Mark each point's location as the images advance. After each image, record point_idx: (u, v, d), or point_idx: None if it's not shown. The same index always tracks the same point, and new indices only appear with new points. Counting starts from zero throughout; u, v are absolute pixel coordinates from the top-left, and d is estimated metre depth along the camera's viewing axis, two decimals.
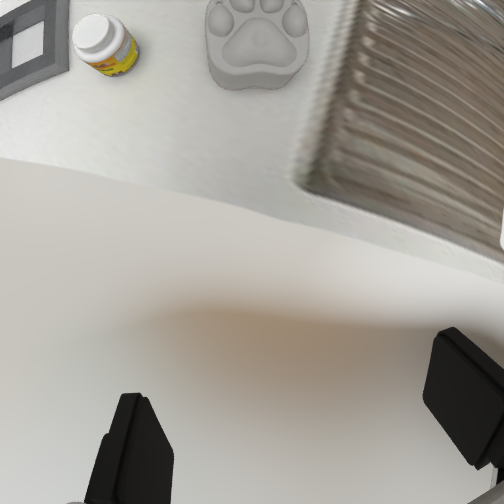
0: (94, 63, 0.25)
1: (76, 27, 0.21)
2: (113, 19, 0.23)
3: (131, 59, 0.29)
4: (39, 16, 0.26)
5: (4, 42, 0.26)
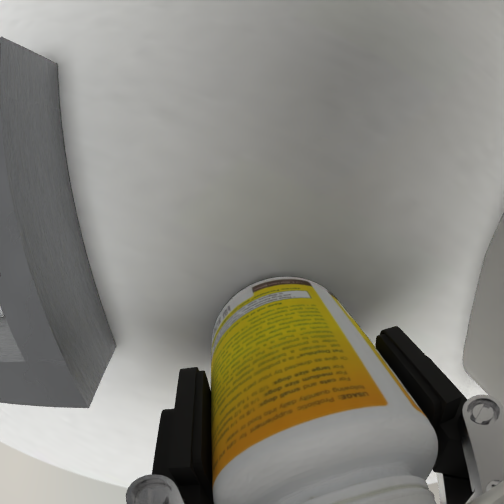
0: None
1: None
2: (424, 448, 0.05)
3: None
4: None
5: None
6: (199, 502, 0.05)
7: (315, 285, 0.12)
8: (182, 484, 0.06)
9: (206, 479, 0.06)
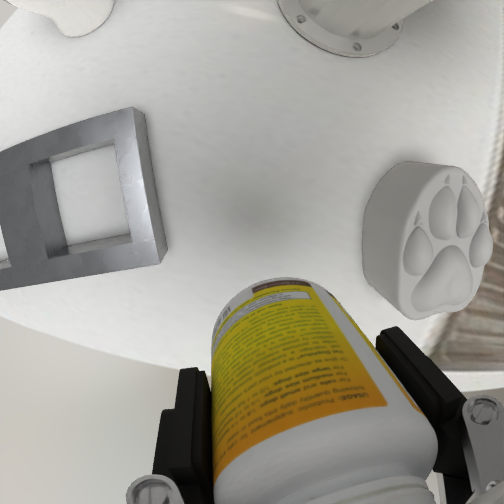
0: None
1: None
2: (424, 449, 0.05)
3: None
4: (98, 146, 0.23)
5: (42, 184, 0.23)
6: (199, 502, 0.05)
7: (315, 286, 0.12)
8: (182, 484, 0.06)
9: (206, 479, 0.06)
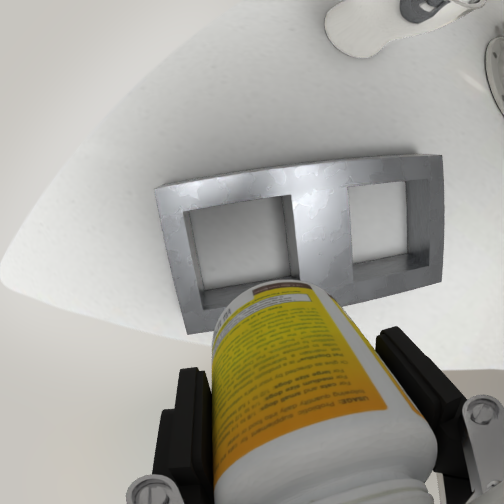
0: None
1: None
2: (424, 452, 0.05)
3: None
4: None
5: None
6: (199, 502, 0.05)
7: (315, 288, 0.12)
8: (182, 484, 0.06)
9: (206, 479, 0.06)
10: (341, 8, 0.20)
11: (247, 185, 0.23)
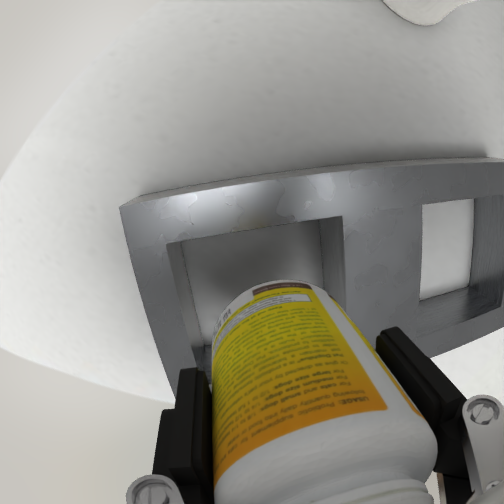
0: None
1: None
2: (424, 452, 0.05)
3: None
4: None
5: None
6: (199, 502, 0.05)
7: (315, 288, 0.12)
8: (182, 484, 0.06)
9: (206, 479, 0.06)
10: None
11: (272, 200, 0.14)
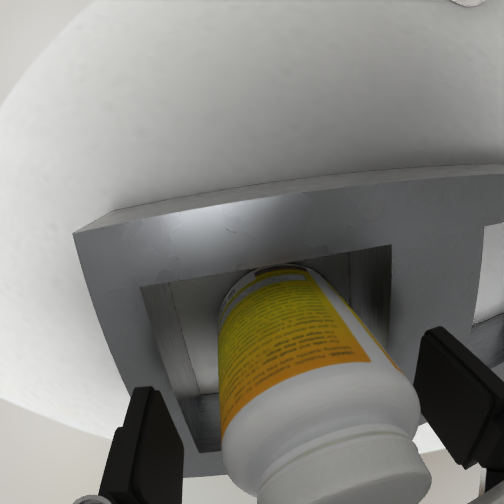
0: None
1: None
2: (405, 404, 0.06)
3: None
4: None
5: None
6: None
7: (310, 271, 0.13)
8: None
9: None
10: None
11: (296, 224, 0.09)
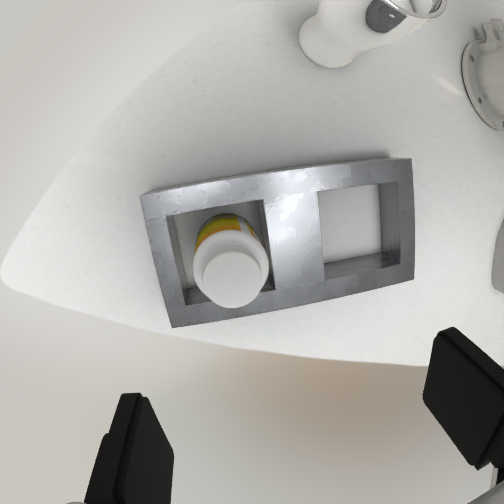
0: None
1: (208, 272, 0.20)
2: (254, 246, 0.22)
3: None
4: None
5: None
6: None
7: (238, 216, 0.29)
8: None
9: None
10: (312, 22, 0.22)
11: (223, 191, 0.25)
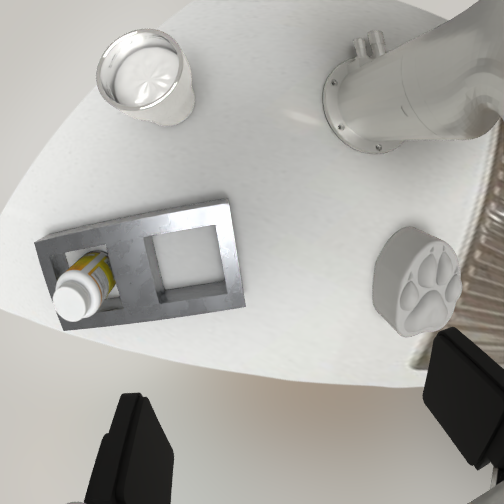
0: None
1: (54, 298, 0.28)
2: (85, 281, 0.30)
3: None
4: None
5: (149, 248, 0.36)
6: None
7: (102, 253, 0.36)
8: None
9: None
10: None
11: (80, 239, 0.33)
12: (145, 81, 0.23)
